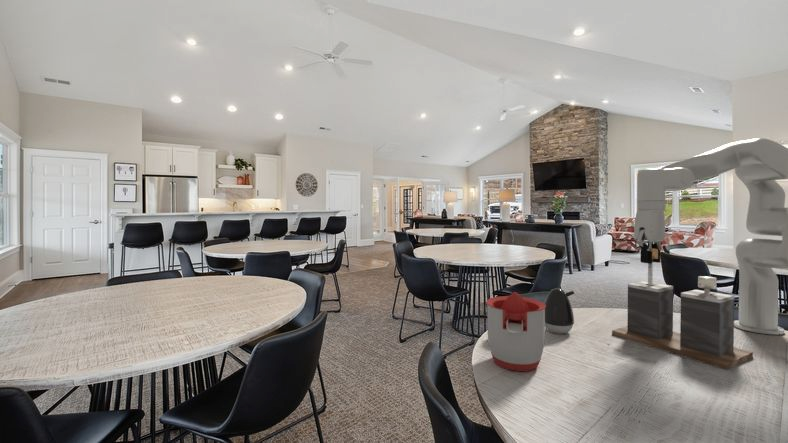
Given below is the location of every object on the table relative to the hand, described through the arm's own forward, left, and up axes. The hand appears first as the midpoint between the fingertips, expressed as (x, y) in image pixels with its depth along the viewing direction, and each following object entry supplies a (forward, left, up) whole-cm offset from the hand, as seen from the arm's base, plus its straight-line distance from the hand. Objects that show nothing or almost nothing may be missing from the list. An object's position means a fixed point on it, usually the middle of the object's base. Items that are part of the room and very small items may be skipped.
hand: (650, 261), depth 115 cm
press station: (0, +8, -25) cm, 26 cm away
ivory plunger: (0, +15, -23) cm, 27 cm away
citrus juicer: (+54, -6, -25) cm, 60 cm away
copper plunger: (0, 0, -16) cm, 16 cm away
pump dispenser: (+21, -18, -25) cm, 38 cm away
